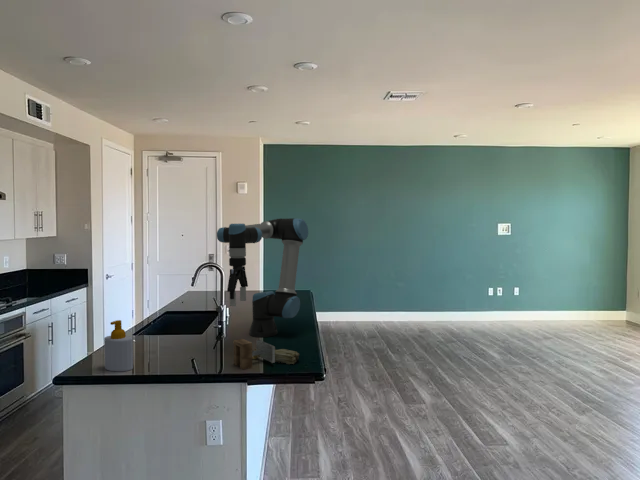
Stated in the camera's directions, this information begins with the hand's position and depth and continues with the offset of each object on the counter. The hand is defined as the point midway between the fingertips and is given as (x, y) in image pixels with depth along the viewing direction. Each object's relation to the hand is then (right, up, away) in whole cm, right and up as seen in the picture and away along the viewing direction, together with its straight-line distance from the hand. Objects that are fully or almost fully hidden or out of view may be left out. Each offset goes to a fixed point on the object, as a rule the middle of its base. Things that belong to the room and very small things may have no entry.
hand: (238, 303), depth 209 cm
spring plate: (+10, -23, -11) cm, 28 cm away
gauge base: (+6, -25, -10) cm, 27 cm away
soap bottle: (-48, -25, -16) cm, 56 cm away
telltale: (+9, -25, -4) cm, 26 cm away
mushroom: (+21, -25, -7) cm, 34 cm away
